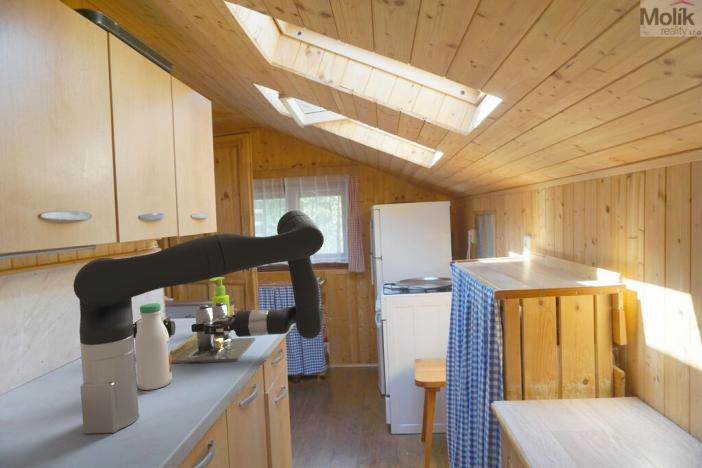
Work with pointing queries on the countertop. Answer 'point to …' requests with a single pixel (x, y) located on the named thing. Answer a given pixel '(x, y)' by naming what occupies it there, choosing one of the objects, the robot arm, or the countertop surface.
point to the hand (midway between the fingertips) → (196, 325)
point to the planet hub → (203, 340)
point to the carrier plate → (229, 348)
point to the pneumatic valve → (166, 321)
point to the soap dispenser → (220, 294)
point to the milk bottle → (152, 350)
